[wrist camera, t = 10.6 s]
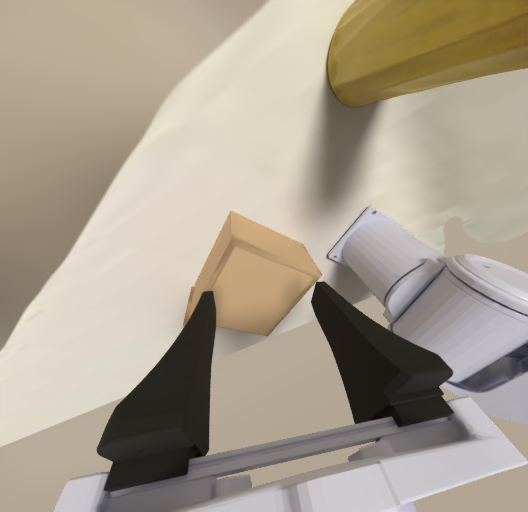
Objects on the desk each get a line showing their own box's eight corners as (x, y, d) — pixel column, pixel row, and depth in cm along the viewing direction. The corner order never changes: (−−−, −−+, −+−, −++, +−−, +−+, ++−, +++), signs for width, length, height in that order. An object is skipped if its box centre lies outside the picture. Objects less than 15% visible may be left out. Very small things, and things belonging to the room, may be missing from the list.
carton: (302, 244, 24) (322, 274, 19) (260, 300, 29) (267, 336, 24) (230, 210, 20) (231, 238, 15) (195, 282, 25) (187, 320, 20)
